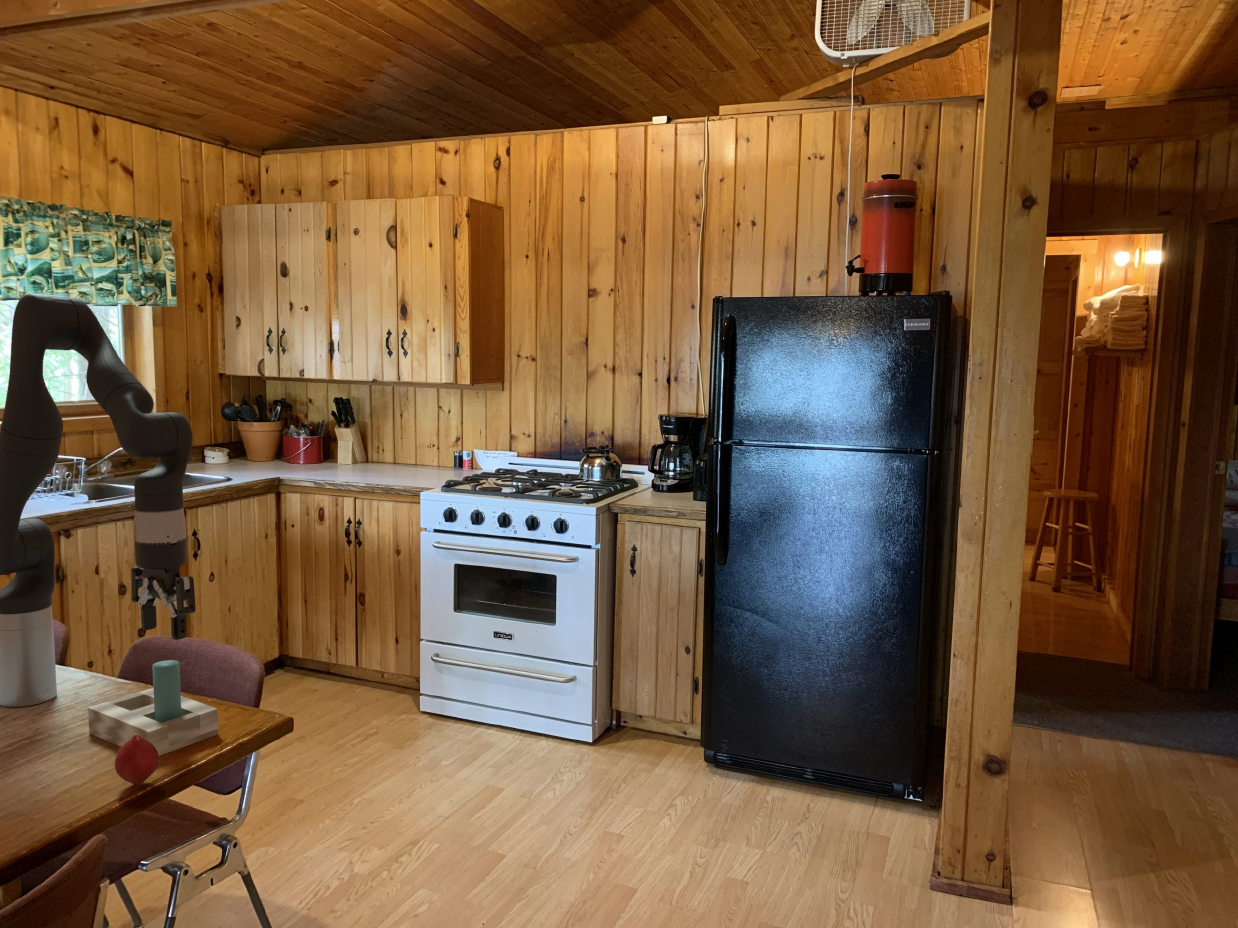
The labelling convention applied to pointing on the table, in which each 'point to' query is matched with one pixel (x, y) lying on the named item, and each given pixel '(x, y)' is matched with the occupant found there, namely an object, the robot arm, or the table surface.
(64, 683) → the table surface
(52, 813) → the table surface
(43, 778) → the table surface
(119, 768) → the onion
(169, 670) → the pin
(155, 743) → the hole board
